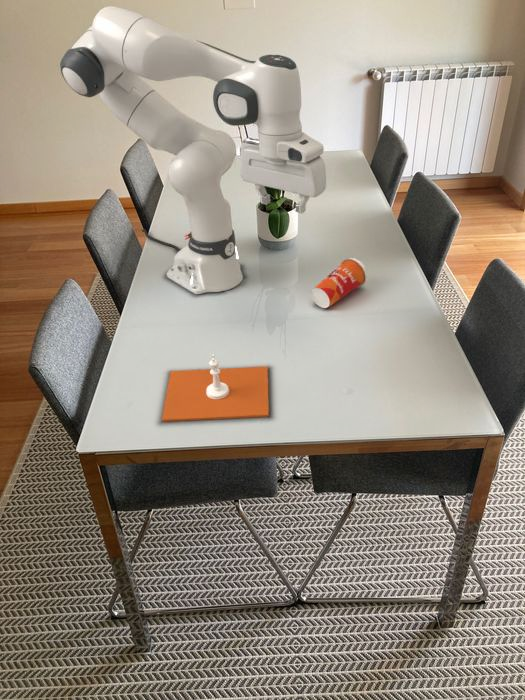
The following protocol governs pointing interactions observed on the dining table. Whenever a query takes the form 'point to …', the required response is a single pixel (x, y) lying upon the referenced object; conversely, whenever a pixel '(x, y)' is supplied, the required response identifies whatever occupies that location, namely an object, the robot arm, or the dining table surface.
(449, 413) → the dining table surface
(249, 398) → the cloth mat
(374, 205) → the dining table surface
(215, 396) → the chess piece
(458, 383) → the dining table surface
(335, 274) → the coffee cup
